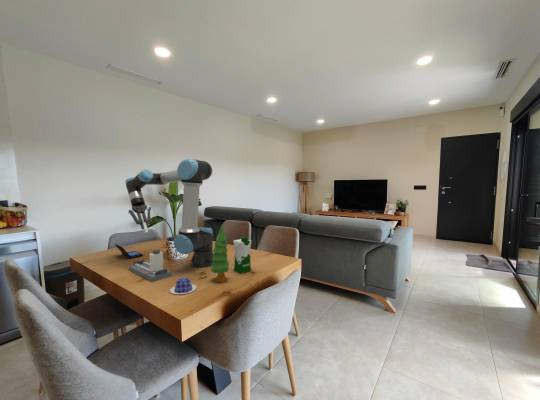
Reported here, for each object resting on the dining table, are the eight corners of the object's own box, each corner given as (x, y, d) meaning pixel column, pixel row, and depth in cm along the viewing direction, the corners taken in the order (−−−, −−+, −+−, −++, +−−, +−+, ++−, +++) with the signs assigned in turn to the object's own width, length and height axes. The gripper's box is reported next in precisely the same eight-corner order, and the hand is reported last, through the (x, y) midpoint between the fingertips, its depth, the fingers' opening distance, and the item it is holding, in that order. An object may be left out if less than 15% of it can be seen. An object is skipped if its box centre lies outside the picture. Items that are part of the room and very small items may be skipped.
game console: (143, 256, 173) (143, 243, 173) (122, 260, 163) (121, 247, 162) (135, 252, 184) (135, 240, 183) (114, 256, 173) (114, 243, 173)
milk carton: (241, 274, 138) (241, 239, 137) (231, 270, 144) (231, 236, 143) (253, 270, 144) (253, 237, 143) (243, 267, 151) (243, 234, 149)
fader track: (129, 270, 144) (128, 262, 144) (147, 265, 153) (147, 258, 153) (152, 281, 127) (151, 273, 127) (171, 275, 136) (171, 268, 135)
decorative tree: (232, 279, 130) (232, 223, 128) (218, 285, 123) (217, 225, 121) (221, 275, 136) (220, 221, 135) (206, 280, 129) (206, 223, 128)
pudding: (196, 283, 125) (195, 273, 125) (197, 293, 114) (196, 282, 114) (170, 287, 122) (170, 276, 121) (169, 297, 110) (168, 285, 110)
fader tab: (149, 271, 134) (148, 250, 133) (159, 268, 139) (159, 248, 138) (153, 273, 131) (152, 252, 130) (164, 270, 136) (163, 249, 135)
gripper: (147, 201, 162) (157, 233, 154) (124, 204, 153) (133, 238, 145) (149, 195, 156) (159, 228, 148) (125, 197, 148) (135, 232, 140)
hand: (146, 233), depth 147 cm, fingers closed
